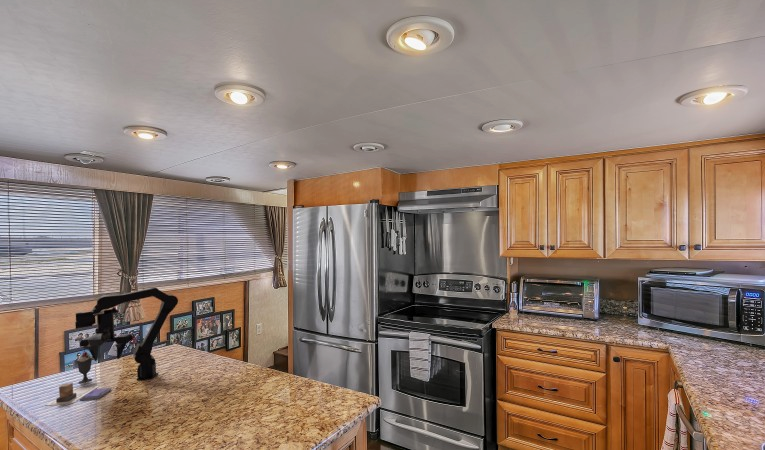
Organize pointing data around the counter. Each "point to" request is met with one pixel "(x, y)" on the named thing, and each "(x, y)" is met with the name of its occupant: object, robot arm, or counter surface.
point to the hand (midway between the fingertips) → (107, 359)
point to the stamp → (66, 393)
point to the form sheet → (79, 393)
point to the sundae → (84, 366)
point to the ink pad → (95, 394)
